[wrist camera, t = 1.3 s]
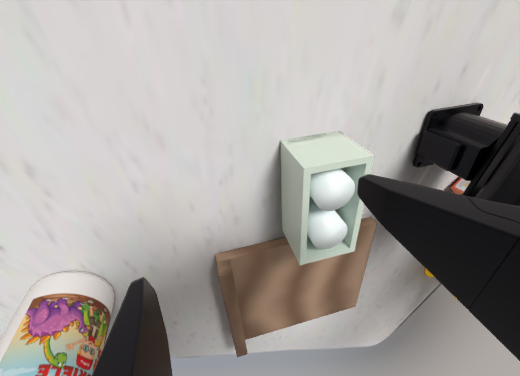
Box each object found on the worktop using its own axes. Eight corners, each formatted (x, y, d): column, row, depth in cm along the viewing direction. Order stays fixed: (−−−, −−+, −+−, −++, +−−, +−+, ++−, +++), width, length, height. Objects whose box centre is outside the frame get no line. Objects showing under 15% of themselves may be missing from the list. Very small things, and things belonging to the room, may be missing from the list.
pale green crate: (339, 131, 25) (374, 155, 20) (329, 218, 31) (354, 251, 26) (280, 140, 24) (303, 168, 19) (281, 228, 30) (299, 265, 25)
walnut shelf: (371, 217, 33) (387, 234, 30) (351, 299, 43) (362, 317, 40) (215, 254, 29) (218, 276, 27) (233, 334, 39) (237, 357, 37)
